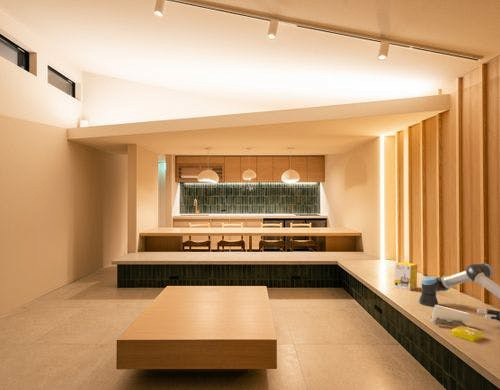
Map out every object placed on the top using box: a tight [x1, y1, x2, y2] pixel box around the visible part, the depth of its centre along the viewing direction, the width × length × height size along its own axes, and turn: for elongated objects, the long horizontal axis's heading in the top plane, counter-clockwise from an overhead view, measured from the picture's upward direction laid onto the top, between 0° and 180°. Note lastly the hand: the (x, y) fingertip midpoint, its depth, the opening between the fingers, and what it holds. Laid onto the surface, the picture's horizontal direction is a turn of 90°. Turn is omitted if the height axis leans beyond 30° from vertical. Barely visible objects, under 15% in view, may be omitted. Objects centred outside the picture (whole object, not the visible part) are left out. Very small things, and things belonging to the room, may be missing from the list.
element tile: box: [451, 326, 485, 343], centre depth 242 cm, size 15×15×5 cm
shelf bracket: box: [430, 304, 472, 324], centre depth 265 cm, size 6×25×13 cm, turn 84°
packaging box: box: [393, 261, 418, 291], centre depth 375 cm, size 16×16×25 cm
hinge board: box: [430, 315, 470, 330], centre depth 265 cm, size 20×20×4 cm
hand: (481, 313), depth 261 cm, fingers open, 13 cm apart
